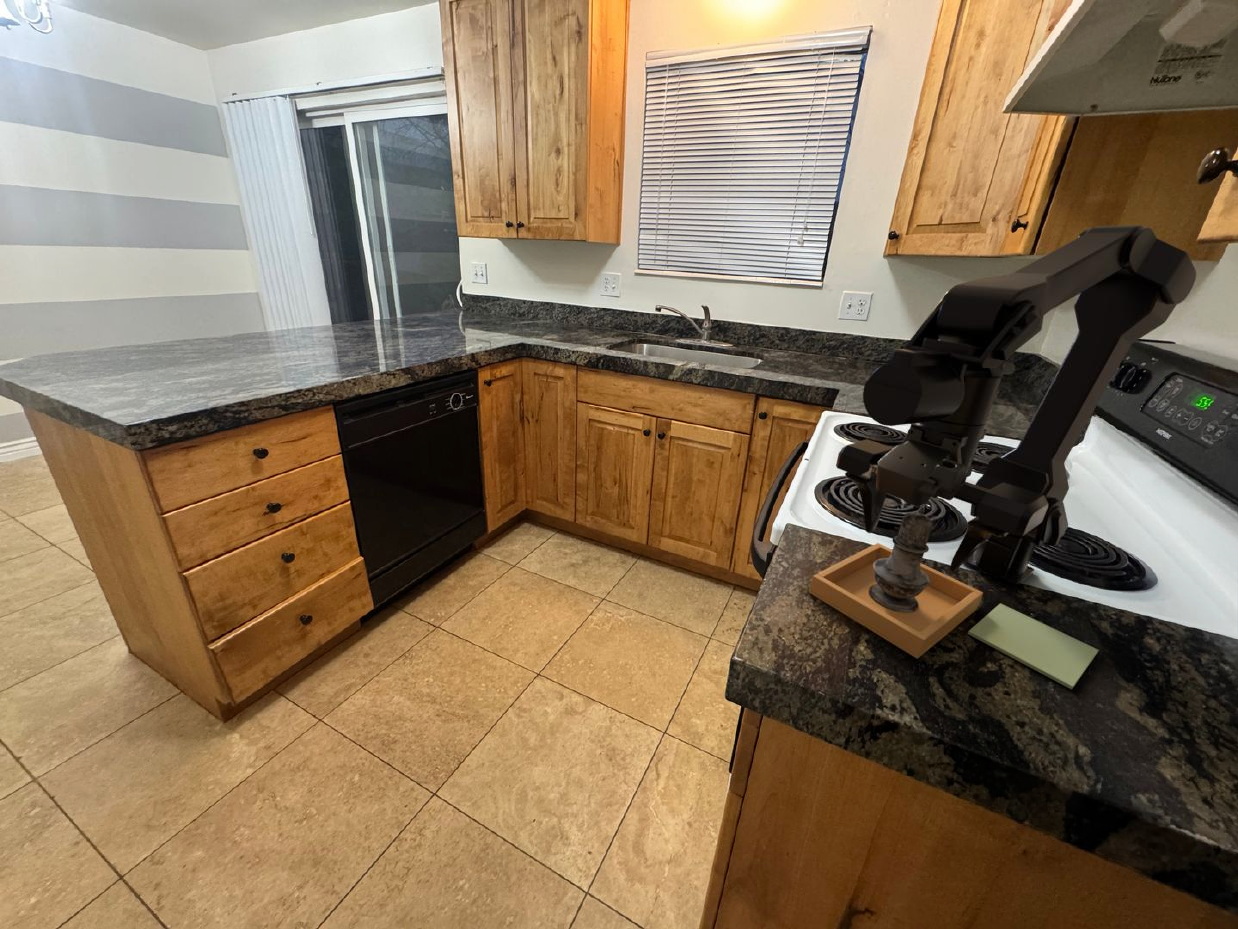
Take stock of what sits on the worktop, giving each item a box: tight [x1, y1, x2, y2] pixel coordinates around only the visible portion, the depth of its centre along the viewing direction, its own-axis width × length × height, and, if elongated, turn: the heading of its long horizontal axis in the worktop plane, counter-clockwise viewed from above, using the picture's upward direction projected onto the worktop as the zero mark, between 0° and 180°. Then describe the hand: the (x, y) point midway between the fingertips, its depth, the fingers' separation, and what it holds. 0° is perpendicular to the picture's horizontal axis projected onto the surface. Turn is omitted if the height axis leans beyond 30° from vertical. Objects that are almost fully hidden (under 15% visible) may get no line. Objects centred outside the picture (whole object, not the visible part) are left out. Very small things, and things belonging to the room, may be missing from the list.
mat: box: [967, 603, 1099, 690], centre depth 53 cm, size 9×9×1 cm
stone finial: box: [868, 506, 933, 613], centre depth 56 cm, size 6×6×12 cm
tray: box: [808, 542, 984, 659], centre depth 58 cm, size 15×13×2 cm
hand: (908, 550), depth 56 cm, fingers open, 9 cm apart
